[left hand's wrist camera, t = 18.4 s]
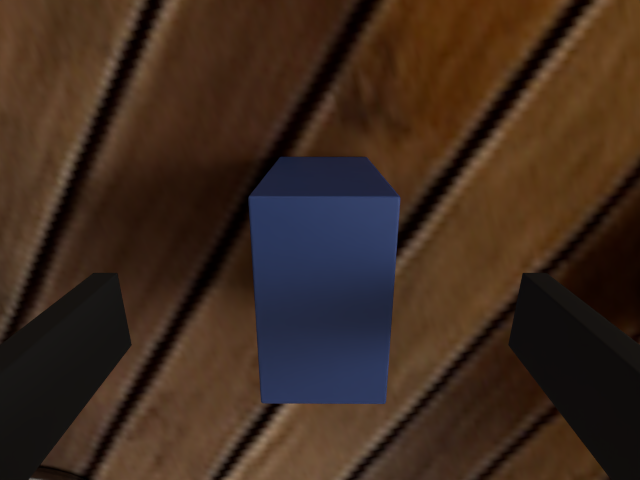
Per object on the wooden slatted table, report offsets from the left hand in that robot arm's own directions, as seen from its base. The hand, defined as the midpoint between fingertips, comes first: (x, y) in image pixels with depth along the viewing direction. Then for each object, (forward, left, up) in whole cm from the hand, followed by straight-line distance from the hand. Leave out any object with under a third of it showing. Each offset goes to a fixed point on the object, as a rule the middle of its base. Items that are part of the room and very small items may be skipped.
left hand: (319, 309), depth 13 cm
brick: (0, 0, -10) cm, 10 cm away
